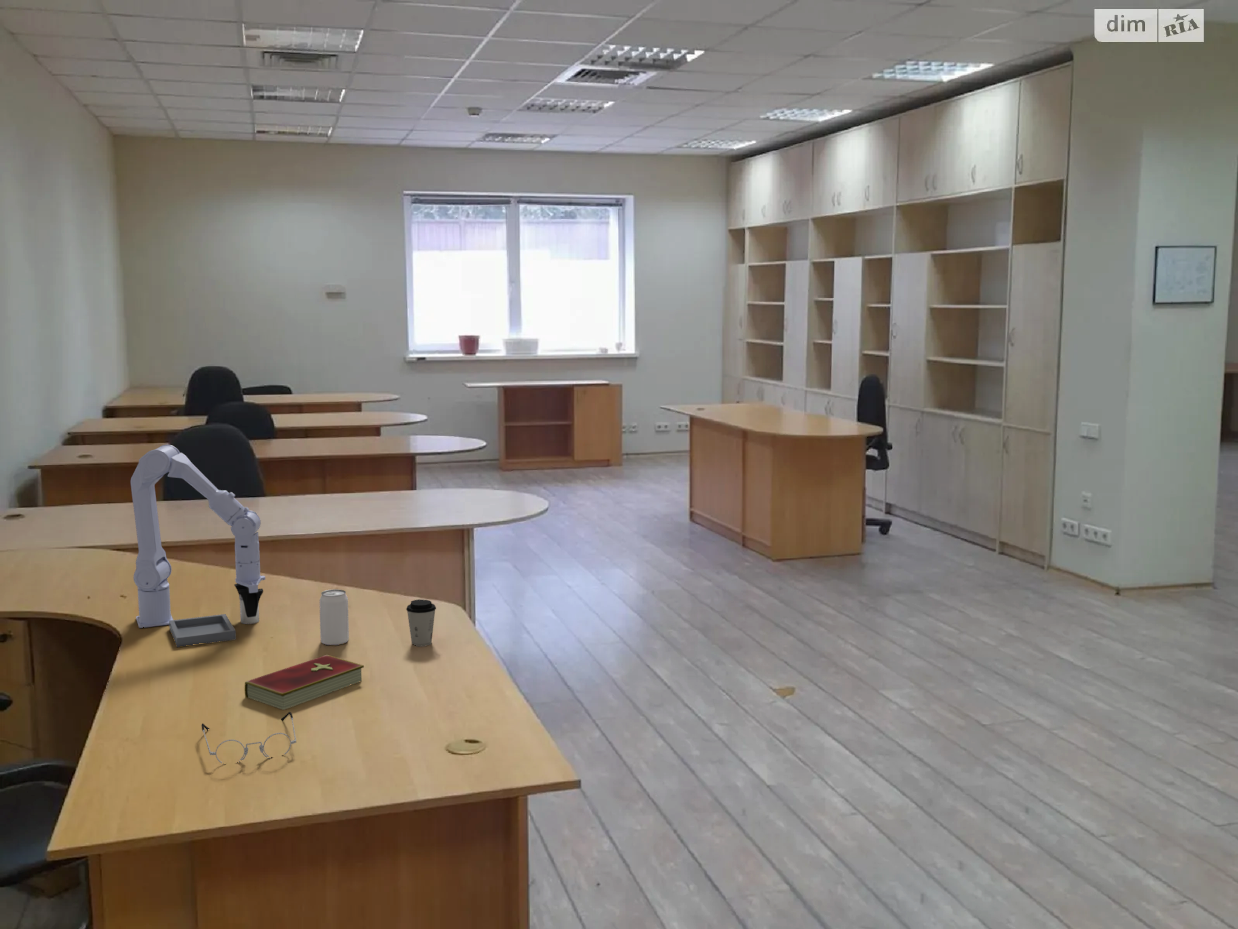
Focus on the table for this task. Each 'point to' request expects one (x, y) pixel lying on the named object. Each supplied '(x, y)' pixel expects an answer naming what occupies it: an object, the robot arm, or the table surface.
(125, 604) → the table surface
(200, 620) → the tray
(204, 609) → the table surface
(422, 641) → the coffee cup
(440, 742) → the table surface
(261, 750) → the eyeglasses
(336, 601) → the can
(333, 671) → the hardcover book
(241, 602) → the shaker
